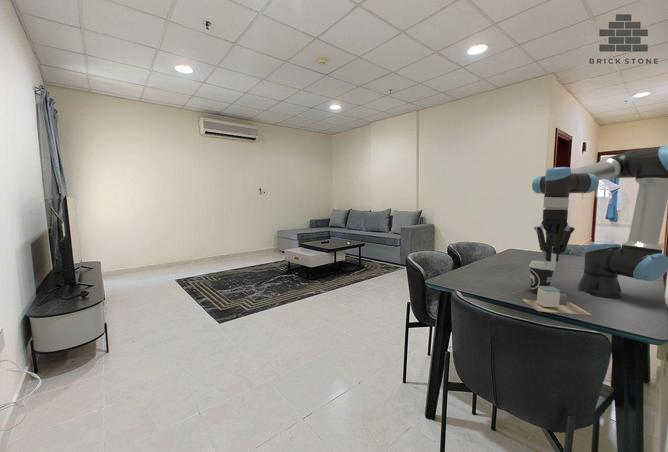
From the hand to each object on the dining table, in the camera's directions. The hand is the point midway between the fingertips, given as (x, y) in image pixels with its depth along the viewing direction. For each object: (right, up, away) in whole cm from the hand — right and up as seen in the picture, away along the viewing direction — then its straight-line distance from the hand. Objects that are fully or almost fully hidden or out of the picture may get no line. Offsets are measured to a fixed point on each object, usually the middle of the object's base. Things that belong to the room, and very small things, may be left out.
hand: (551, 269), depth 112 cm
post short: (+7, -15, +5) cm, 17 cm away
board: (+3, -16, +2) cm, 16 cm away
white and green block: (0, -14, +1) cm, 14 cm away
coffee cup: (+9, -15, +19) cm, 26 cm away
